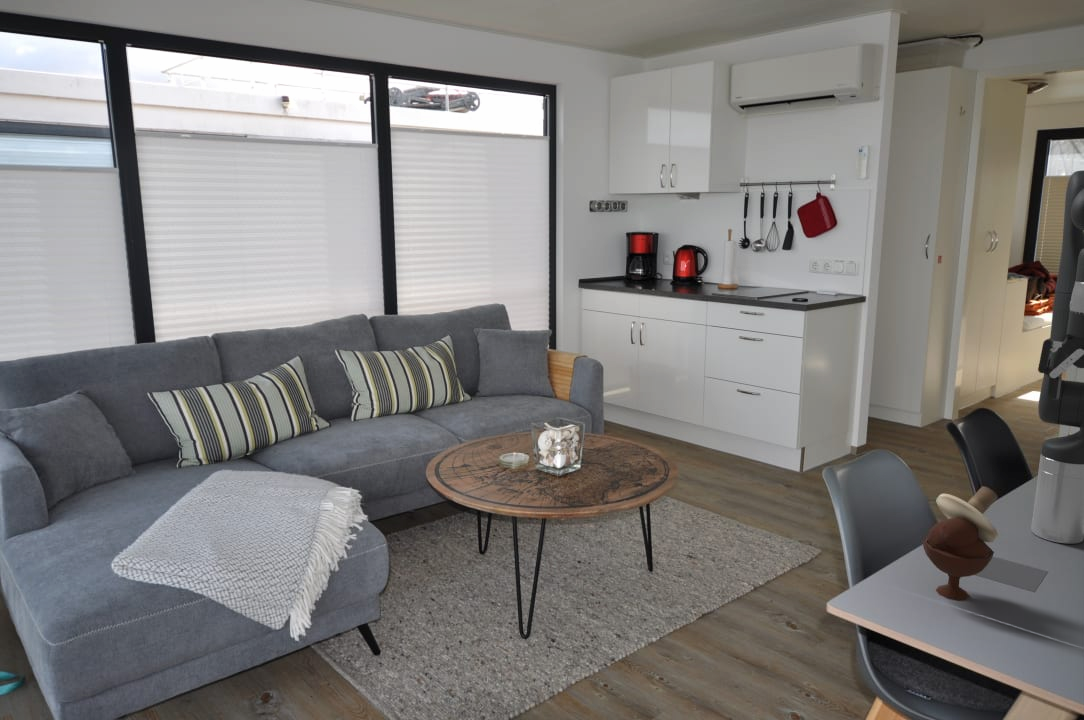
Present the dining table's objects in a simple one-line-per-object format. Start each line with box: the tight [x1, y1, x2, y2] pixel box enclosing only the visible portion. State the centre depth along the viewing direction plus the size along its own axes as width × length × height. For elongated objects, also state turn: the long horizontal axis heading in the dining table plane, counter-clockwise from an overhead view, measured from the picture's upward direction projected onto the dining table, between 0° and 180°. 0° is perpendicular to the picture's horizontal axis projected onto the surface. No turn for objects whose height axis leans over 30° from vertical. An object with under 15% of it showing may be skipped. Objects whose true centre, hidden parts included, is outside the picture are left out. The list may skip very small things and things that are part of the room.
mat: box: [974, 555, 1049, 593], centre depth 145 cm, size 11×11×1 cm
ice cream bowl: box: [922, 517, 995, 602], centre depth 135 cm, size 11×11×15 cm
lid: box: [936, 486, 999, 543], centre depth 136 cm, size 11×11×7 cm
